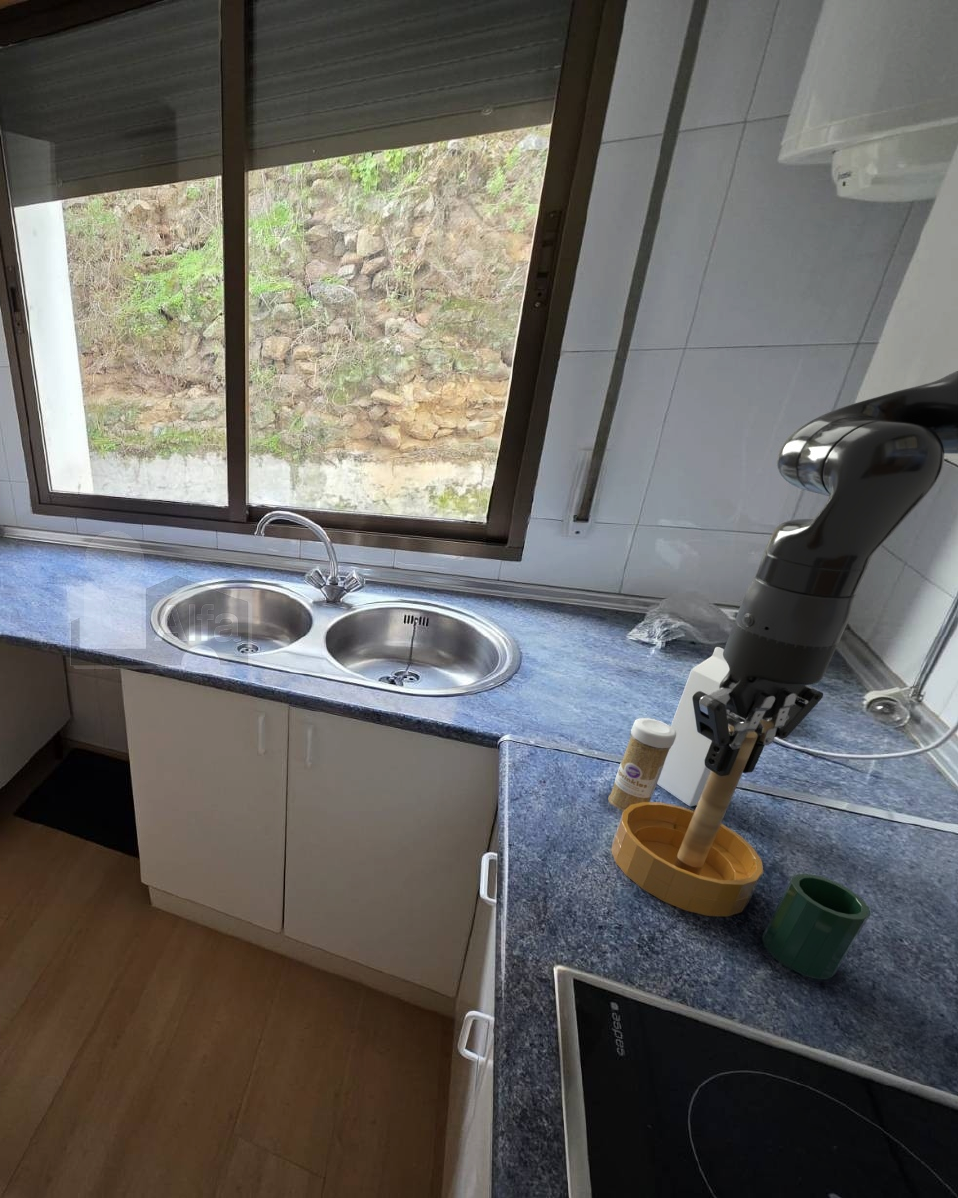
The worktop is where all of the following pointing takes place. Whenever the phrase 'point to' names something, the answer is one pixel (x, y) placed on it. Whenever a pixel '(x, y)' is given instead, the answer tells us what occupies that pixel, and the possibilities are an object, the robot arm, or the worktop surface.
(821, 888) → the utensil pot
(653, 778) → the sprinkles bottle
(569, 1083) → the worktop surface
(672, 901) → the bowl
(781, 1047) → the worktop surface
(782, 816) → the worktop surface
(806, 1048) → the worktop surface
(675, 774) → the milk
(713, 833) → the stick
